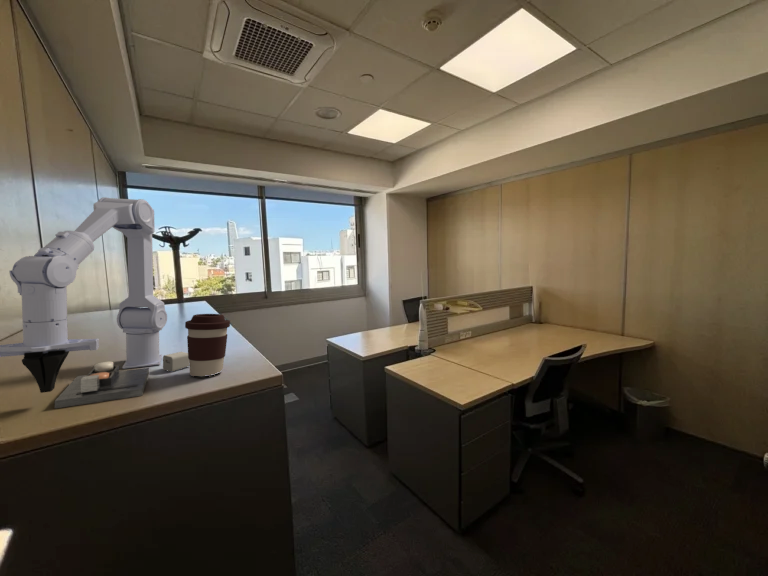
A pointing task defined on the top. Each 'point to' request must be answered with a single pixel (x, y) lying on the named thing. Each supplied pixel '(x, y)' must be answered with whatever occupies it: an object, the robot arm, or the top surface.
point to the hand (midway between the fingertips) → (47, 390)
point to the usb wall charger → (175, 361)
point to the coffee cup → (206, 343)
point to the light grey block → (90, 383)
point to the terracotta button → (102, 375)
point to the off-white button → (103, 366)
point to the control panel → (105, 388)
